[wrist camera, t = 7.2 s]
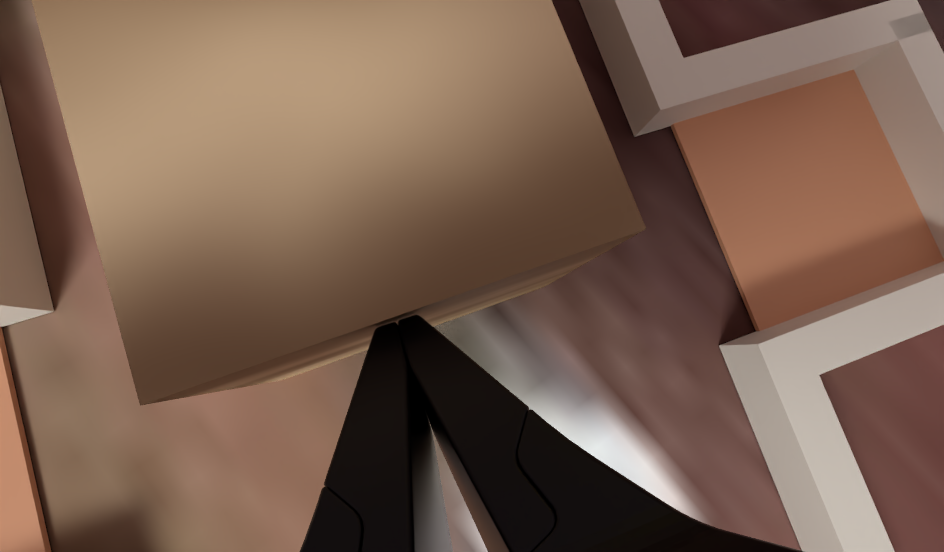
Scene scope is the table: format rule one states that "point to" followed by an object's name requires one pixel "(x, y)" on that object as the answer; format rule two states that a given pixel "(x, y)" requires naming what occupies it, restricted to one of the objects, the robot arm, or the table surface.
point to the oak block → (323, 171)
